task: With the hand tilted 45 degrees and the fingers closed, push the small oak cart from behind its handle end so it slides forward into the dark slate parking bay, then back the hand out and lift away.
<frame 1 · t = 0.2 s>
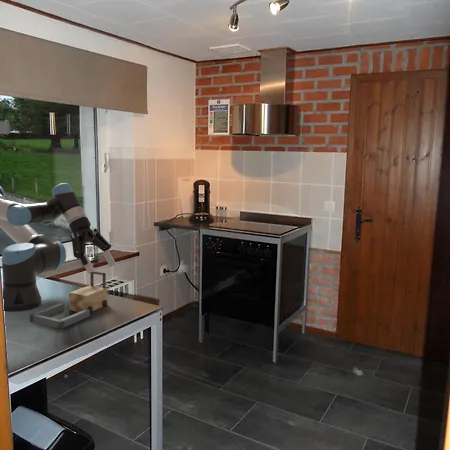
hand: (102, 268, 175), 15 cm above the table, tool tilted 35°, fingers open, 13 cm apart
cart: (88, 307, 176), on the table
bay: (62, 318, 164), on the table
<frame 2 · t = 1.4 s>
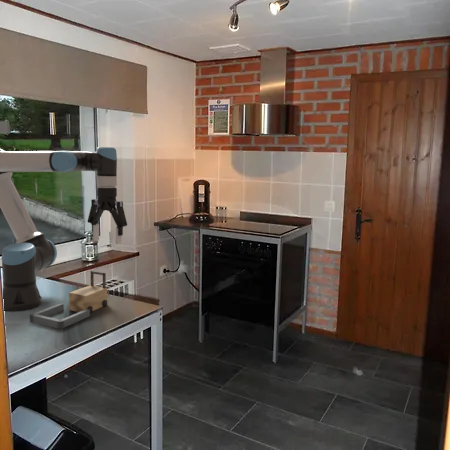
hand: (107, 242, 183), 24 cm above the table, tool pointing down, fingers open, 10 cm apart
nothing on the table moved.
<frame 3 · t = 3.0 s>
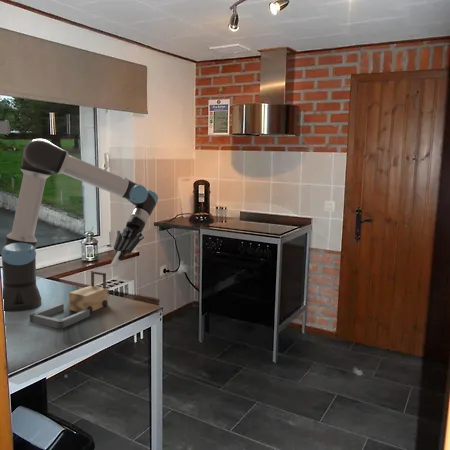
hand: (113, 265, 188), 13 cm above the table, tool tilted 45°, fingers closed
nothing on the table moved.
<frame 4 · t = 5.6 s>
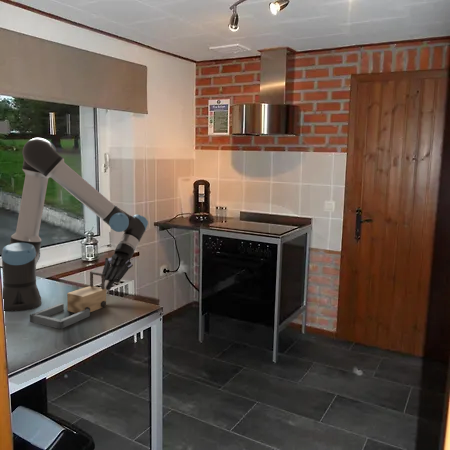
hand: (101, 295, 181), 3 cm above the table, tool tilted 45°, fingers closed
cart: (87, 308, 175), on the table
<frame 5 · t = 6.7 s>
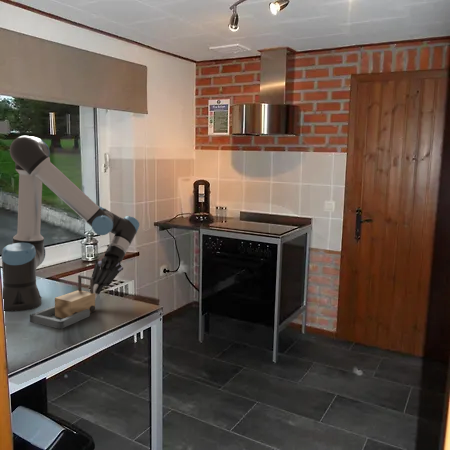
hand: (90, 300, 175), 3 cm above the table, tool tilted 45°, fingers closed
cart: (75, 313, 169), on the table
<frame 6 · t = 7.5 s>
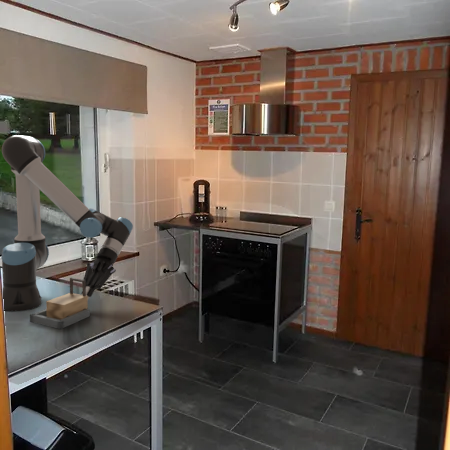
hand: (81, 303, 172), 3 cm above the table, tool tilted 45°, fingers closed
cart: (67, 317, 165), on the table, touching gripper
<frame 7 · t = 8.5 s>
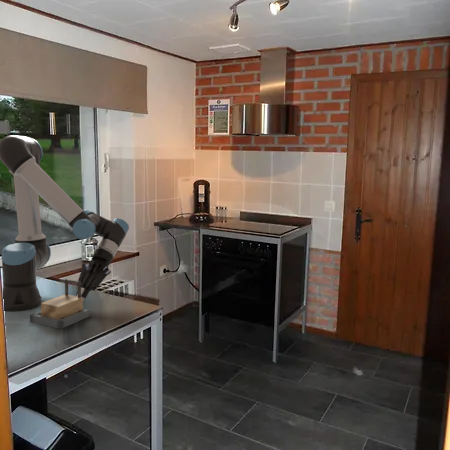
hand: (76, 304, 170), 3 cm above the table, tool tilted 45°, fingers closed
cart: (62, 319, 164), on the table, touching gripper
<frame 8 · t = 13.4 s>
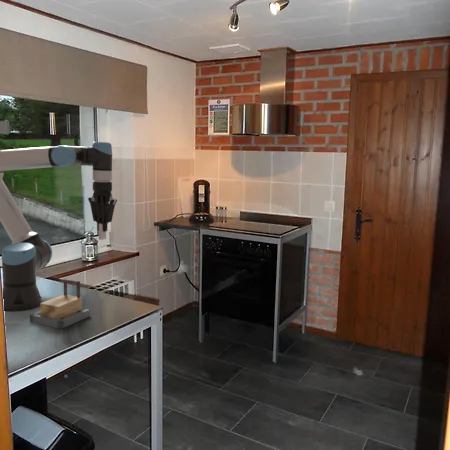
hand: (102, 239, 186), 24 cm above the table, tool pointing down, fingers closed
cart: (61, 319, 163), on the table
at the end: cart inside the target area (0.4 cm from its centre), on the table; cart tilted 0°; cart touching table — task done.
